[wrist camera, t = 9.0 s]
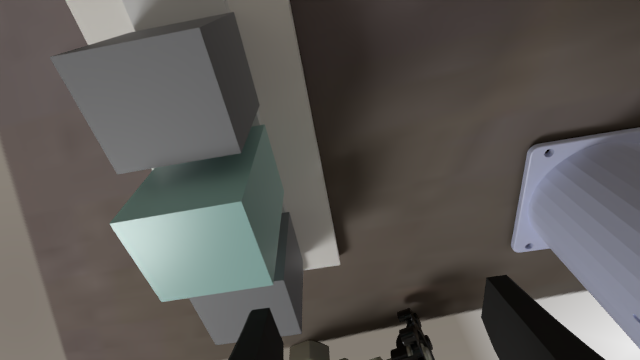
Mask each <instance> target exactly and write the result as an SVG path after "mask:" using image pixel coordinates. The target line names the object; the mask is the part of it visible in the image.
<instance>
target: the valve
mask: <svg viewBox="0 0 640 360" xmlns="http://www.w3.org/2000/svg"><path fill="white" fill-rule="evenodd" d="M397 316H398V319H399V322H402V321H405V322H406V323H407V326H406V328H404V329H401V330H399V335H398V338H397V340H396V346H397V348H396V349H393V350H391V358H390V359H387V360H435V359H434V356H433V354H432V351H431V350H432V349H433V347H432V344H431V341H430V339H429V337H428V336H427V335H424V334H423V332H422V330H421V322H420V320H419V318H418V316H417V314H416V313H412V311H411V309H410V308H407V309H405V310H402V311H399V312H397ZM289 360H330V359H329V347H328V346H327V345H325V344H323V343H321V342H314V341H311V340H308V341H305V342H302V343H299V344H297V345H294V346H292V347H290V357H289ZM340 360H348V359H346V358H343V359H340ZM371 360H382V359H381V357H377V358H374V359H371Z"/></svg>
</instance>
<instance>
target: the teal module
mask: <svg viewBox="0 0 640 360" xmlns="http://www.w3.org/2000/svg"><path fill="white" fill-rule="evenodd" d="M283 197H284V189H283V186H282V182H281V179H280V176H279V172H278V169H277V165H276V162H275V158H274V155H273V151H272V148H271V145H270V141H269V138H268V134H267V131H266V127H265V124H264V125H258V126H253V127H251V129H250V132H249V134H248V137H247V139H246V142H245V145H244V147H243V150H242V152H241V153H239V154H233V155H227V156H221V157H216V158H210V159H204V160H198V161H192V162H186V163H180V164H174V165H169V166H163V167H157V168H154V169H153V171H152V172H151V173H150V174H149V176H148V177H147V178H146V179H145V180H144V182H143V183H142V184H141V185H140V187H139V188H138V189H137V190H136V192H135V193H134V194H133V195H132V196H131V198H130V199H129V200H128V201H127V203H126V204H125V205H124V206H123V208H122V209H121V210H120V211H119V213H118V214H117V215H116V216H115V217H114V219H113V220H112V221H111V222H110V226H111V227H112V229H113V230H114V232H115V233H116V235H117V236H118V238H119V239H120V241H121V242H122V244H123V245H124V247H125V248H126V250H127V251H128V253H129V254H130V255H131V257H132V258H133V260H134V261H135V263H136V264H137V266H138V267H139V269H140V270H141V272H142V273H143V275H144V276H145V278H146V279H147V281H148V282H149V284H150V285H151V287H152V288H153V290H154V291H155V293H156V294H157V296H158V297H159V299H160V300H161V302H165V301H171V300H178V299H185V298H191V297H198V296H205V295H211V294H218V293H225V292H231V291H238V290H245V289H251V288H258V287H265V286H271V285H273V282H274V274H275V265H276V257H277V248H278V239H279V231H280V222H281V214H282V205H283Z"/></svg>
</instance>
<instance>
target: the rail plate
mask: <svg viewBox="0 0 640 360" xmlns="http://www.w3.org/2000/svg"><path fill="white" fill-rule="evenodd" d="M66 2H67V4H68V6H69V8H70V10H71V12H72V14H73V16H74V18H75V20H76V22H77V24H78V26H79V28H80V30H81V32H82V34H83V36H84V38H85V40H86V42H87V43H88V45H87V46H84V47H81V48H78V49H74V50H71V51H68V52H65V53H61V54H58V55H55V56H51V57H50V59H51V60H52V62H53V64H54V66H55V67H56V69H57V71H58V72H59V74H60V76H61V78H62V79H63V81H64V83H65V85H66V86H67V88H68V90H69V92H70V93H71V95H72V97H73V98H74V100H75V102H76V104H77V105H78V107H79V109H80V111H81V112H82V114H83V116H84V118H85V119H86V121H87V123H88V124H89V126H90V128H91V130H92V131H93V133H94V135H95V137H96V138H97V140H98V142H99V143H100V145H101V147H102V149H103V150H104V152H105V154H106V156H107V157H108V159H109V161H110V163H111V164H112V166H113V168H114V169H115V171H116V173H117V174H122V173H127V172H133V171H139V170H145V169H152V171H153V169H154V168H157V167H163V166H169V165H174V164H180V163H186V162H192V161H198V160H204V159H210V158H216V157H221V156H227V155H233V154H239V153H241V152H242V150H243V147H244V145H245V142H246V139H247V137H248V134H249V132H250V129H251V127H253V126H258V125H264V124H265V127H266V131H267V134H268V138H269V141H270V145H271V148H272V151H273V155H274V158H275V162H276V165H277V169H278V172H279V176H280V179H281V182H282V186H283V189H284V197H283V205H282V214H281V222H280V231H279V239H278V248H277V257H276V265H275V274H274V282H273V285H271V286H265V287H258V288H251V289H245V290H238V291H231V292H225V293H218V294H211V295H205V296H198V297H191V298H189V299H190V301H191V303H192V304H193V306H194V308H195V310H196V311H197V313H198V315H199V317H200V318H201V320H202V322H203V324H204V325H205V327H206V329H207V330H208V332H209V334H210V336H211V337H212V339H213V341H214V343H215V344H216V345H220V344H227V343H235V342H237V340H238V338H239V336H240V334H241V332H242V329H243V327H244V325H245V322H246V320H247V318H248V315H249V313H250V312H251V311H252V310H255V309H263V308H270V310H271V313H272V315H273V318H274V320H275V323H276V326H277V328H278V331H279V333H280V336H288V335H296V334H302V289H303V270H308V269H315V268H322V267H329V266H336V265H340V258H339V252H338V247H337V242H336V237H335V231H334V226H333V221H332V216H331V211H330V206H329V201H328V195H327V190H326V185H325V180H324V175H323V170H322V165H321V159H320V154H319V149H318V144H317V139H316V134H315V129H314V123H313V118H312V113H311V108H310V103H309V98H308V93H307V88H306V82H305V77H304V72H303V67H302V62H301V57H300V52H299V46H298V41H297V36H296V31H295V26H294V21H293V16H292V10H291V5H290V0H66Z"/></svg>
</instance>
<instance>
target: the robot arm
mask: <svg viewBox="0 0 640 360" xmlns="http://www.w3.org/2000/svg"><path fill="white" fill-rule="evenodd" d="M548 149H550V150H549V152H548V153H546V154H545V152H546V151H547V150H548ZM511 247H512V249H513V250H514V251H515V252H526V251H534V250H541V249H548V248H550V249H551V250H552V251H553V252H554V253H555V254H556V255H557V256H558V258H559V259H560V260H561V261H562V262H563V263H564V264H565V265H566V267H567V268H568V269H569V270H570V271H571V272H572V273H573V274H574V276H575V277H576V278H577V279H578V280H579V281H580V282H581V283H582V285H583V286H584V287H585V288H586V289H587V290H588V291H589V292H590V293H591V295H593V297H594V298H595V299H596V300H597V301H598V302H599V304H600V305H601V306H602V307H603V308H604V309H605V310H606V311H607V312H608V314H609V315H610V316H611V317H612V318H613V319H614V320H615V322H616V323H617V324H618V325H619V326H620V327H621V328H622V329H623V331H624V332H626V334H627V335H628V336H629V337H630V338H631V340H632V341H633V342H634V343H635V344H636V345H637V346H638V347H639V349H640V127H638V128H632V129H626V130H620V131H614V132H608V133H601V134H595V135H589V136H583V137H577V138H571V139H564V140H558V141H552V142H546V143H540V144H536V145H533V146H532V147H531V148H530V149H529V150H528V153H527V157H526V163H525V169H524V174H523V180H522V186H521V191H520V197H519V203H518V208H517V214H516V219H515V225H514V231H513V236H512V242H511ZM481 318H482V320H483V323H484V325H485V328H486V331H487V333H488V336H489V337H490V340H491V343H492V345H493V347H494V350H495V352H496V354H497V356H498V358H499V359H500V360H605V359H604V358H603V357H601V356H600V355H599V354H597V353H596V352H595V351H594V350H592V349H591V348H590V347H589V346H587V345H586V344H585V343H584V342H582V341H581V340H580V339H579V338H578V337H576V336H575V335H574V334H573V333H572V332H570V331H569V330H568V329H567V328H566V327H564V326H563V325H562V324H561V323H560V322H558V321H557V320H556V319H555V318H554V317H553V316H551V315H550V314H549V313H548V312H547V311H546V310H545V309H544V308H542V307H541V306H540V305H539V304H538V303H537V302H536V301H535V300H533V299H532V298H531V297H530V296H529V295H528V294H527V293H526V292H525V291H524V290H522V289H521V288H520V287H519V286H518V285H517V284H516V283H515V282H514V281H513V280H512V279H510V278H509V277H508V276H507V275H502V276H495V277H488V278H486V286H485V293H484V301H483V308H482V316H481ZM228 360H283V341H282V338H281V336H280V333H279V331H278V328H277V326H276V323H275V320H274V318H273V315H272V313H271V310H270V308H263V309H255V310H252V311H251V312H250V313H249V315H248V318H247V320H246V322H245V325H244V327H243V329H242V332H241V334H240V336H239V338H238V340H237V343H236V345H235V347H234V349H233V351H232V353H231V355H230V357H229V359H228Z"/></svg>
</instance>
